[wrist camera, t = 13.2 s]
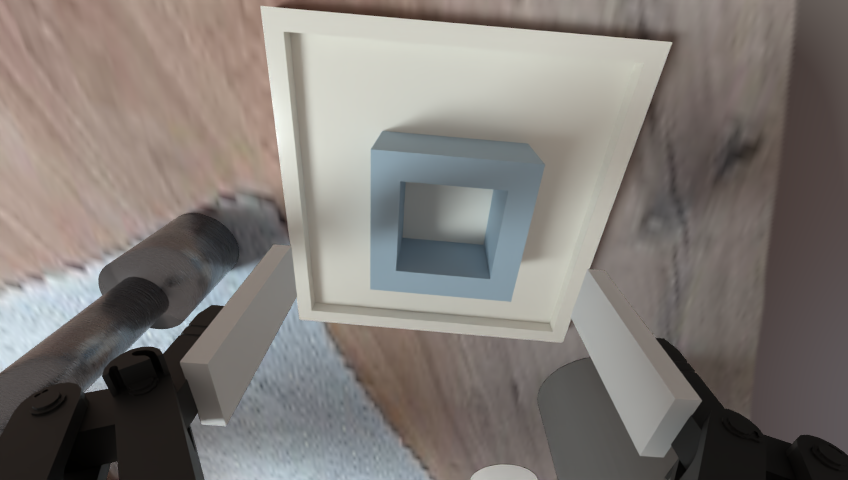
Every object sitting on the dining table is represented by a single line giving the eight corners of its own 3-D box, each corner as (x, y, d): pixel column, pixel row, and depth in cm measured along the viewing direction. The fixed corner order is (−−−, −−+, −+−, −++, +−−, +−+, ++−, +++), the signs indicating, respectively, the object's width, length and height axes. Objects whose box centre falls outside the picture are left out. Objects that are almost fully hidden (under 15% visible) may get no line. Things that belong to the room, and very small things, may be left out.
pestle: (178, 270, 27) (-115, 528, 13) (159, 210, 25) (-229, 447, 10) (244, 276, 27) (23, 540, 13) (231, 216, 25) (-58, 462, 10)
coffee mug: (526, 370, 31) (559, 500, 22) (648, 344, 29) (738, 476, 20) (555, 456, 37) (591, 585, 28) (659, 440, 35) (731, 573, 26)
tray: (305, 306, 28) (299, 319, 27) (273, 8, 19) (260, 6, 17) (556, 328, 28) (562, 342, 27) (656, 41, 19) (672, 42, 17)
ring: (382, 130, 21) (370, 149, 17) (528, 143, 21) (545, 164, 17) (380, 254, 25) (370, 289, 22) (501, 265, 25) (510, 301, 22)
